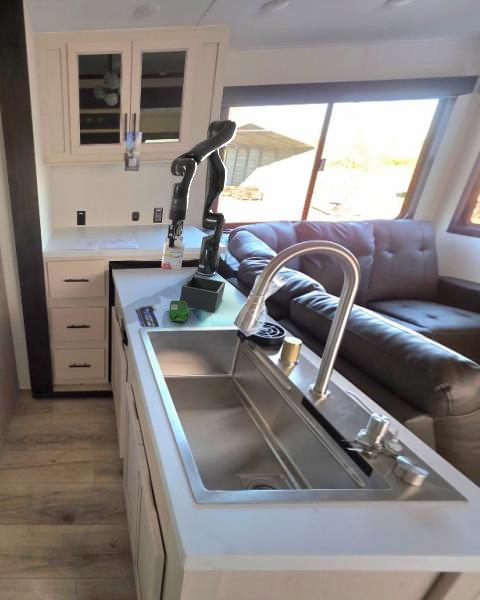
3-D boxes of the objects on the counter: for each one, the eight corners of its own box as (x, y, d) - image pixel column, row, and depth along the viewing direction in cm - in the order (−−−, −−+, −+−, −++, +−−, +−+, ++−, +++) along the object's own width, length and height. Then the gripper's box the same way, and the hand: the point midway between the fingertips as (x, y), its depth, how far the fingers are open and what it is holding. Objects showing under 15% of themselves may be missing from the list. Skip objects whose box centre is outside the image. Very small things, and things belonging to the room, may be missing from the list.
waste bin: (189, 293, 149) (192, 275, 146) (221, 300, 142) (225, 281, 138) (179, 304, 137) (181, 285, 134) (214, 312, 130) (217, 293, 126)
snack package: (168, 324, 120) (169, 312, 118) (168, 307, 134) (170, 296, 132) (187, 327, 119) (189, 315, 116) (186, 310, 132) (188, 298, 130)
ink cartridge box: (162, 269, 146) (165, 238, 140) (161, 266, 151) (164, 235, 145) (181, 270, 146) (185, 238, 139) (179, 266, 150) (183, 236, 144)
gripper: (181, 211, 130) (176, 250, 136) (191, 207, 140) (186, 243, 147) (164, 209, 133) (160, 248, 140) (175, 205, 144) (170, 241, 151)
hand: (173, 245), depth 144 cm, fingers closed on ink cartridge box, 6 cm apart
